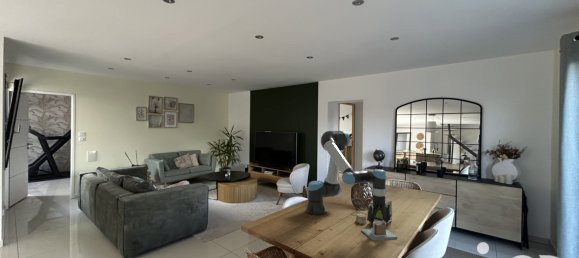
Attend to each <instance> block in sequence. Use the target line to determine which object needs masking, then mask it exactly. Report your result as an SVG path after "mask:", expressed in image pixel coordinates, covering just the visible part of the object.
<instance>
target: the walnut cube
mask: <svg viewBox="0 0 579 258" xmlns="http://www.w3.org/2000/svg"><path fill="white" fill-rule="evenodd" d="M374 223H375V234H376V235H386V229H387V227H386V224H384V223H383V222H381V221H375V222H374Z"/></svg>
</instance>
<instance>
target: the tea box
mask: <svg viewBox="0 0 579 258" xmlns="http://www.w3.org/2000/svg"><path fill="white" fill-rule="evenodd" d="M372 203H373V200H371V201H369V205H371V204H372ZM385 203H386V204H389V205H390V207H389V211H390V220H388V222H387V224H389V223H390V222H392V221H393V207H392V206H393V201H392V199H391V200H390V199H385ZM373 208H374V207H373ZM373 208H372V212H373ZM384 210H385V207H384ZM385 214H386V210H385ZM383 220H384V219H383V216H382V213H381V210H379V211H378V212H377V213H376V216H375V219H374V222H375V221H381V222H383Z"/></svg>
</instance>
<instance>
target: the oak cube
mask: <svg viewBox="0 0 579 258" xmlns="http://www.w3.org/2000/svg"><path fill="white" fill-rule="evenodd" d="M355 222H356V223H357V224H359V225H361V224H366V223H367V216H366V215H365V214H364V213H355Z"/></svg>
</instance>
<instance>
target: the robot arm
mask: <svg viewBox="0 0 579 258" xmlns="http://www.w3.org/2000/svg"><path fill="white" fill-rule="evenodd" d="M350 142H351V139H350V136H349V134H348V132H347V131H345V130H326V131H325V132H323V134H322V135H321V137H320V144H321V147H322V148H323V150H325V151H326V152H327V153H328V155H329V156H330V157H329V163H328V169H327V175H326V177H325V178H324V181H323V180H312V181H309V183H308V185H307V186H308V187H307V192H308V193H307V195H308V196H307V197H308V198H307V203H306V207H305V213H307V214H309V215H314V216H320V215H324V214H325V213H326V208H325V205H324V198H330V197H331V198H332V197H333V198H334V197H336V196H339V195H340V193H341V191H342V186H341V183H340V181H339V179H338V178H339V173H341V174H342V175H341V179H342V183H344V184H345V185H356V184H366V183H367V184H372V201H373V203H372V204H371V205H369V204H368V205H367V216H366V221H368V222H369V226H370V228H371V232H372V233H375V223H374V219H375V216H376V213H377V212H378V211H379V210H381V213H382V216H383V219H384V220H383V223H384V224H386V228H387V227H388V223H387V222H388V220H390V211H389V207H390V205H389V204H386V203H385V200H386V186H387V185H386V184H387V183H386V182H387V176H386V171H385V170H384V169H380V168H379V169H378V168H377V169H373V170H372V171H371V170H368V169H360V170H358V171H355V169H354V168H353V167H352V165H351V164H350V163H349V161H348V160H347V158H346V157H345V156H344V155H343V152H344V151H345V150H346V147H348V146H349V145H350ZM373 207H374V208H373ZM384 207H385V210H386V214H385V210H384ZM372 208H373V212H372Z"/></svg>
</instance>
